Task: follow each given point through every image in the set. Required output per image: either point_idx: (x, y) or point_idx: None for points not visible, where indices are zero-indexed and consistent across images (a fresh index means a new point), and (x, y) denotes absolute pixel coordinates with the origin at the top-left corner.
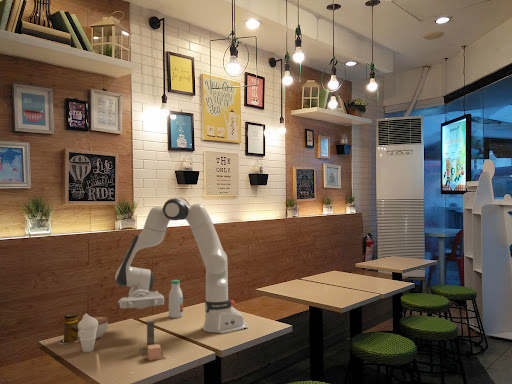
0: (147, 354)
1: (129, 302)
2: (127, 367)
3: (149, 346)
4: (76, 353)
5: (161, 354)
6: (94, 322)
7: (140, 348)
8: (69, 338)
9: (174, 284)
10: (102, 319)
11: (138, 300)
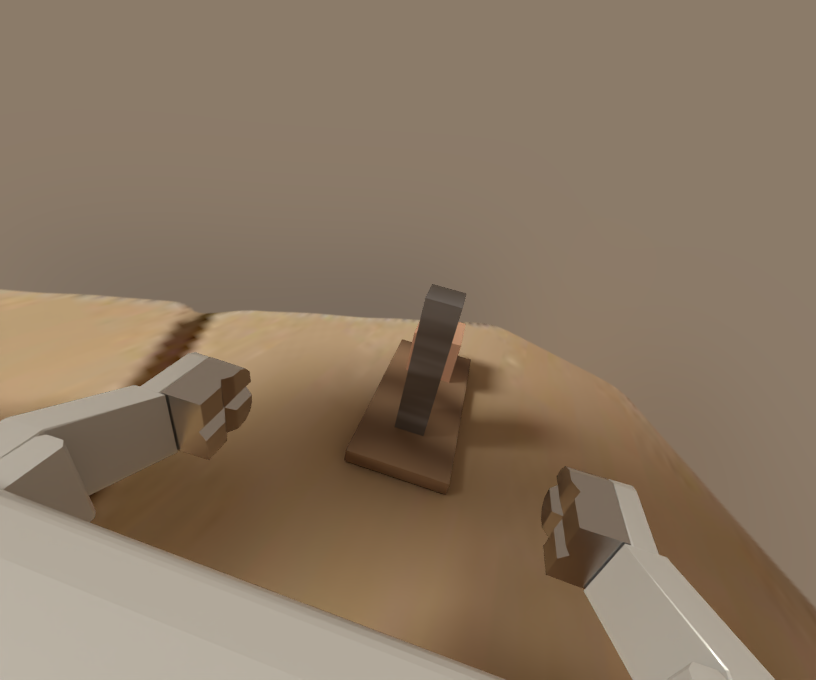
0: (440, 399)
1: (747, 673)
2: (523, 391)
3: (457, 336)
4: None
5: (394, 368)
6: None
7: (443, 480)
8: None
9: None
10: None
11: (460, 662)
